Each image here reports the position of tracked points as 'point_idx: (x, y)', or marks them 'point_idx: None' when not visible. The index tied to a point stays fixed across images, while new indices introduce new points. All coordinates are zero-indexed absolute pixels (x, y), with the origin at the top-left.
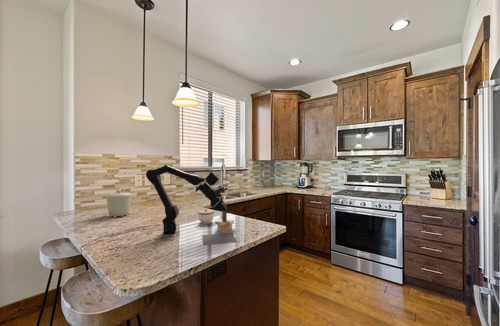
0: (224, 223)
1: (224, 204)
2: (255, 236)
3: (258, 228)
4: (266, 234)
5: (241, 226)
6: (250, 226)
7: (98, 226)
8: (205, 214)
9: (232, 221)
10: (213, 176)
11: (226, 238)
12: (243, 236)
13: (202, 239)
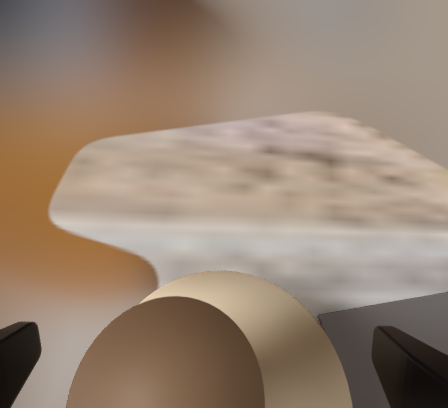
0: (338, 393)
1: (262, 383)
2: (374, 167)
3: (211, 143)
4: (330, 118)
5: (136, 239)
6: (155, 182)
7: None
8: None
9: (246, 288)
10: None
11: None
12: (386, 233)
13: None
